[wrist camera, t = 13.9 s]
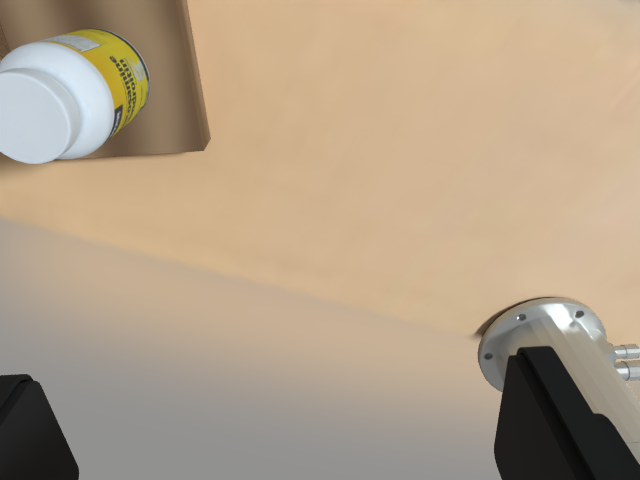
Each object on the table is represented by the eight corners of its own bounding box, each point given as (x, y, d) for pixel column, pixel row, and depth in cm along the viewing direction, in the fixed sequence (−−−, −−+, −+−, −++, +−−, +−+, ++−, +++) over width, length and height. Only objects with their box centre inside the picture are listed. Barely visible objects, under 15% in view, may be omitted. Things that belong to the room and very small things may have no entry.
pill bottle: (135, 137, 37) (68, 202, 27) (48, 93, 36) (-58, 146, 26) (166, 57, 35) (105, 96, 24) (74, 6, 33) (-33, 26, 23)
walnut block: (181, -29, 35) (170, -29, 32) (210, 138, 40) (203, 150, 38) (11, -17, 35) (-13, -15, 32) (64, 148, 41) (47, 160, 38)
